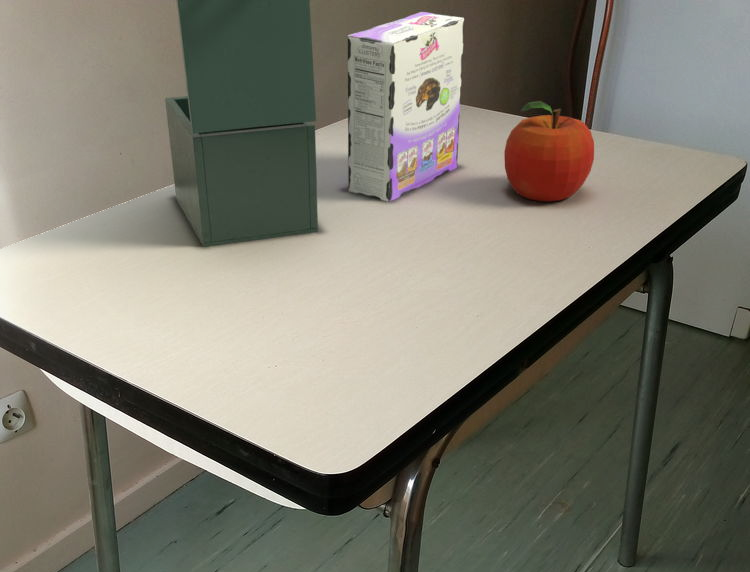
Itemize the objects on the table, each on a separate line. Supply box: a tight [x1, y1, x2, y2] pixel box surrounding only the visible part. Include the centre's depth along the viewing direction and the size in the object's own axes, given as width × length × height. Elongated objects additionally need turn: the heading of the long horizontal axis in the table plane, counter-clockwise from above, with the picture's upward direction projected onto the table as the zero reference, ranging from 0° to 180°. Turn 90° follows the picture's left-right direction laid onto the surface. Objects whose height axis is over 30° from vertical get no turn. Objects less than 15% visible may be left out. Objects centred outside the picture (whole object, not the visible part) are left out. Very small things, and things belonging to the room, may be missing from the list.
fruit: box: [503, 100, 595, 203], centre depth 107 cm, size 10×10×10 cm
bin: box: [164, 95, 319, 248], centre depth 101 cm, size 14×12×11 cm
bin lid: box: [175, 0, 317, 133], centre depth 87 cm, size 14×12×5 cm
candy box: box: [347, 11, 465, 202], centre depth 108 cm, size 14×6×16 cm, turn 144°
